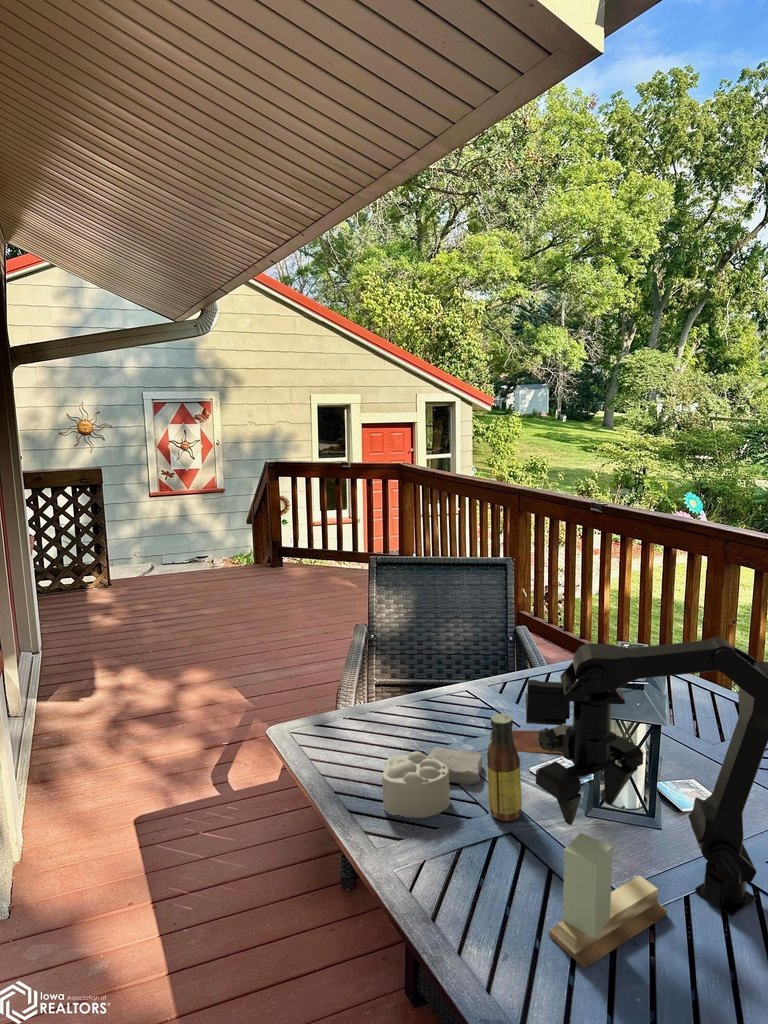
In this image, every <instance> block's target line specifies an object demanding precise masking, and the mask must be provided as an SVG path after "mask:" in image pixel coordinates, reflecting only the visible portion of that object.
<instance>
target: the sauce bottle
mask: <svg viewBox="0 0 768 1024" xmlns="http://www.w3.org/2000/svg"><path fill="white" fill-rule="evenodd" d="M490 725H491V730H492V731H491V732H492V741H491V740H490V743H489V744H488V747H487V751H486V756H487V757H486V758H487V760H486V761H487V764H486V766H487V771H486V772H487V789H488V790H487V791H488V806H489V808H490V809H489V811H490V814H491V816H492V817H494V818H495V819H497V820H499V821H503V822H513V821H515V820H517V819H518V818H520V816H521V814H522V807H523V806H522V805H523V803H522V801H523V800H522V779H521V761H520V759H521V758H520V756H519V754H518V753H519V752H517V750H516V747H515V744H514V741H513V737H512V730H513V728H512V727H513V725H514V724H513V718H512V716H510V715H509V714H507V713H496V714H493V715H492V716H491V717H490Z"/></svg>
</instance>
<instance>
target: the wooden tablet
mask: <svg viewBox="0 0 768 1024" xmlns="http://www.w3.org/2000/svg"><path fill="white" fill-rule="evenodd" d="M539 731H540V730H521V729H520V730H519V729H518V730H516V729H515V730H514V729H512V737H513V741H514V744H515V747H516V750H517V753H528V754H529V753H531V754H533V753H534V754H558V755H563V752H557V751H553V752H550V751H548V750H543V749H542V748H541V747H540V744H539ZM489 739H490V742H491V741H492V731H490V737H489Z"/></svg>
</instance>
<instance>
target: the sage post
mask: <svg viewBox="0 0 768 1024" xmlns="http://www.w3.org/2000/svg"><path fill="white" fill-rule="evenodd" d="M612 868H613V846H611V845H609V844H607V843H605V842H602V841H601V840H598V839H597V838H594V837H591V836H590V835H587V834H586V833H582V832H579V833H578V835H577V836H576V837H575V838H574V839H573V840H572V841H571V842H570V843H568V845H567V846H566V847H565V848H564V850H563V895H562V896H563V898H562V900H563V901H562V902H563V905H562V921H564V922H566V923H568V924H569V925H571V926H573V927H575V928H577V929H578V930H580V931H582V932H584V933H586V934H587V935H589V936H591V937H593V938H595V937H596V936H597V935H598V933H599V932H600V931H601V929H602V928H603V927H604V925H605V924H606V923H607V921H608V920H609V919H610V904H611V892H612V870H613V869H612Z"/></svg>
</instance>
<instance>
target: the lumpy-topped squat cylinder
mask: <svg viewBox="0 0 768 1024" xmlns="http://www.w3.org/2000/svg"><path fill="white" fill-rule="evenodd" d="M384 766H385V768H384V770H383V772H382V775H381V779H382V780H381V782H382V783H381V785H382V802H383V803H382V808H383V807H384V809H385V810H386V811H387V812H389V813H391V814H395V815H400V816H399V817H401V816H404V817H403V818H412V817H414V818H415V819H416V818H417V819H419V818H420V819H421V818H423V819H424V818H429V817H431V816H436V815H438V814H441V813H443V812H444V811H445V810H447V809H448V808H449V806H450V801H451V800H450V782H449V770H448V768H447V766H446V765H445V764H443V763H442V762H441V761H439V760H436V759H434V758H431V757H428V756H427V755H425V754H424V753H423V752H421V751H419V750H418V751H412V752H410V753H409V754H400V755H399V754H397V755H394V756H391V757H389V758H387V759H386V761H385V765H384ZM384 809H383V810H384ZM387 812H386V813H387ZM391 814H390V815H391Z"/></svg>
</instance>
